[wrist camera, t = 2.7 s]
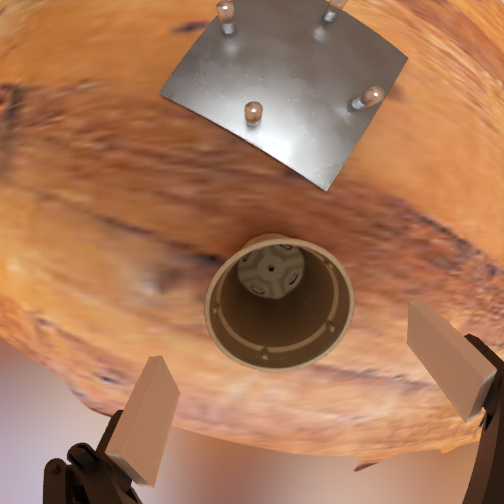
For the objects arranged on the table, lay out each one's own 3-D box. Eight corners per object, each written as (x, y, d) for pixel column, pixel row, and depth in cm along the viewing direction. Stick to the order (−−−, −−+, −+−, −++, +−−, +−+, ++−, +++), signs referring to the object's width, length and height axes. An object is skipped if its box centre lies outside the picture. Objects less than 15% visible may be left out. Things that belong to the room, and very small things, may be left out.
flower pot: (331, 219, 24) (370, 247, 16) (314, 316, 27) (336, 373, 18) (222, 208, 24) (207, 231, 15) (216, 309, 26) (203, 367, 18)
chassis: (162, 96, 21) (141, 81, 16) (260, -23, 17) (262, -53, 12) (322, 190, 23) (341, 196, 18) (402, 61, 19) (430, 45, 14)
